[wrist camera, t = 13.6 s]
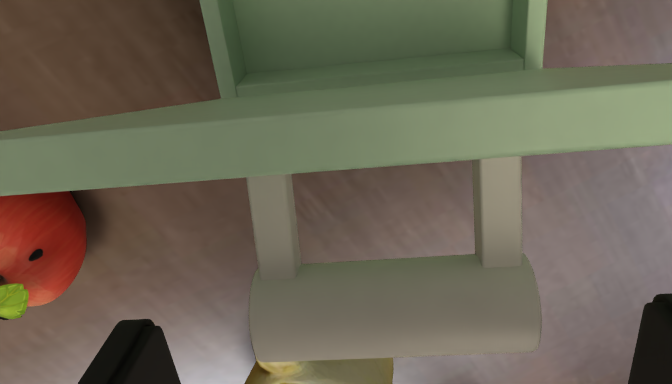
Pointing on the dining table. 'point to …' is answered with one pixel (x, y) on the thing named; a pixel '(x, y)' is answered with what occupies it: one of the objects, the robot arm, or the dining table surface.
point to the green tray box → (367, 41)
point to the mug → (323, 372)
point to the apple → (38, 249)
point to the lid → (366, 152)
